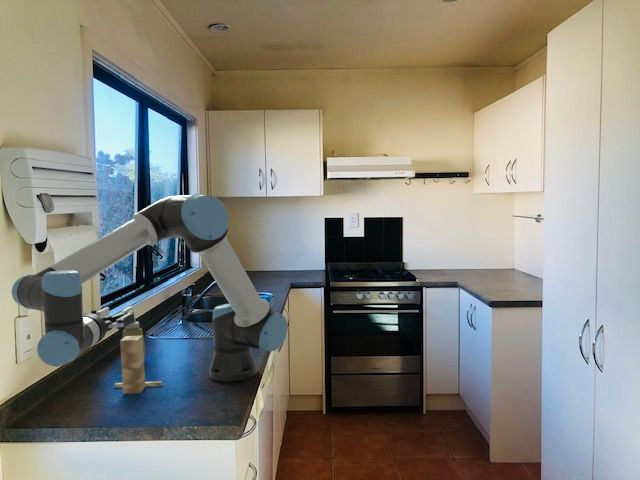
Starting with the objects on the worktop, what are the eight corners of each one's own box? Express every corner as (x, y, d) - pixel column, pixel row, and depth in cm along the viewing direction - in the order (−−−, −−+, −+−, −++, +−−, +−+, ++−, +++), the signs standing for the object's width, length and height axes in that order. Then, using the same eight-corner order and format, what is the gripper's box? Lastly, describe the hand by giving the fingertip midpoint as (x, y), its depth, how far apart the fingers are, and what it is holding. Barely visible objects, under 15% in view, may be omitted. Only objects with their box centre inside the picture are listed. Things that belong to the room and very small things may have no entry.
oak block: (145, 387, 158) (142, 335, 157) (140, 393, 153) (137, 339, 152) (128, 388, 158) (126, 336, 156) (123, 394, 153) (120, 340, 152)
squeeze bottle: (120, 367, 178) (118, 316, 177) (123, 360, 186) (120, 311, 184) (145, 365, 180) (143, 314, 179) (146, 358, 188) (144, 309, 187)
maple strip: (161, 385, 160) (161, 381, 160) (160, 386, 159) (160, 382, 159) (115, 386, 159) (115, 383, 159) (114, 388, 158) (114, 384, 158)
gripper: (45, 349, 121) (86, 325, 145) (125, 346, 122) (153, 323, 145) (43, 317, 121) (84, 299, 144) (124, 315, 122) (152, 297, 145)
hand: (119, 311), depth 145 cm, fingers open, 6 cm apart
